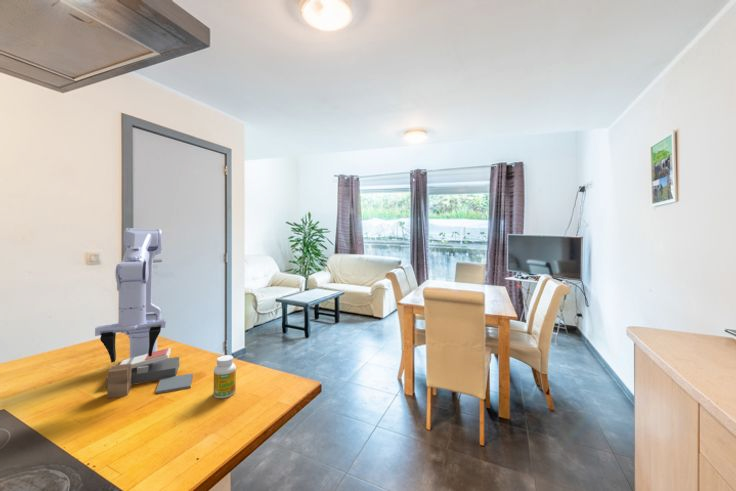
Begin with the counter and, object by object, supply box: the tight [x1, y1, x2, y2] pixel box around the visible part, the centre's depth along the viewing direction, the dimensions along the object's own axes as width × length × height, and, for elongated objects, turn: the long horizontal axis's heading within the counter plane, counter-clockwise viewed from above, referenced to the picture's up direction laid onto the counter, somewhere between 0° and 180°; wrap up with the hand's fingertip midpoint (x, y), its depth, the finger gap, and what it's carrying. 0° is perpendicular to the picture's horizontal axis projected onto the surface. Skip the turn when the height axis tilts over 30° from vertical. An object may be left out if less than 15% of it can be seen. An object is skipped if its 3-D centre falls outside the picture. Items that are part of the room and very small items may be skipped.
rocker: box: [119, 347, 172, 369], centre depth 89 cm, size 6×12×1 cm, turn 116°
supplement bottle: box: [213, 354, 237, 399], centre depth 80 cm, size 5×5×10 cm
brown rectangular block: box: [107, 363, 132, 400], centre depth 79 cm, size 4×4×7 cm
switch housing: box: [105, 356, 180, 389], centre depth 89 cm, size 9×16×4 cm, turn 116°
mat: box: [155, 373, 194, 394], centre depth 85 cm, size 8×8×1 cm
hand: (132, 358), depth 79 cm, fingers open, 7 cm apart
